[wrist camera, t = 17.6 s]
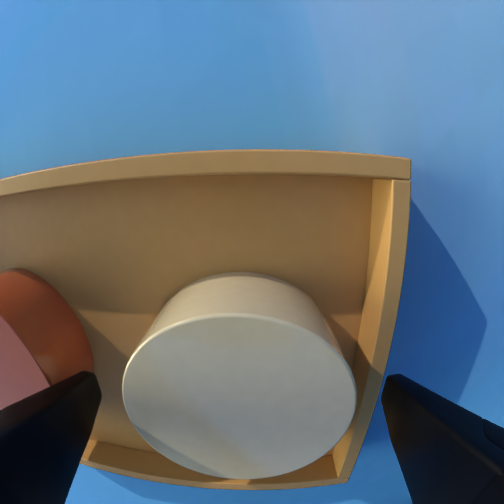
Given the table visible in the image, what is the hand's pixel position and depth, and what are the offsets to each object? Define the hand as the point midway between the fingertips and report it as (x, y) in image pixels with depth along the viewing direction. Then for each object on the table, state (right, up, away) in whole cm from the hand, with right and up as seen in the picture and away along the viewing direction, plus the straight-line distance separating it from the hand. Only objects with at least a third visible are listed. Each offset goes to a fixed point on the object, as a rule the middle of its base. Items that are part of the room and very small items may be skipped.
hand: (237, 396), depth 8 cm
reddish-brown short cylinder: (-9, 0, +2) cm, 9 cm away
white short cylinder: (0, 0, +2) cm, 2 cm away
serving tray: (-4, +1, +3) cm, 5 cm away
